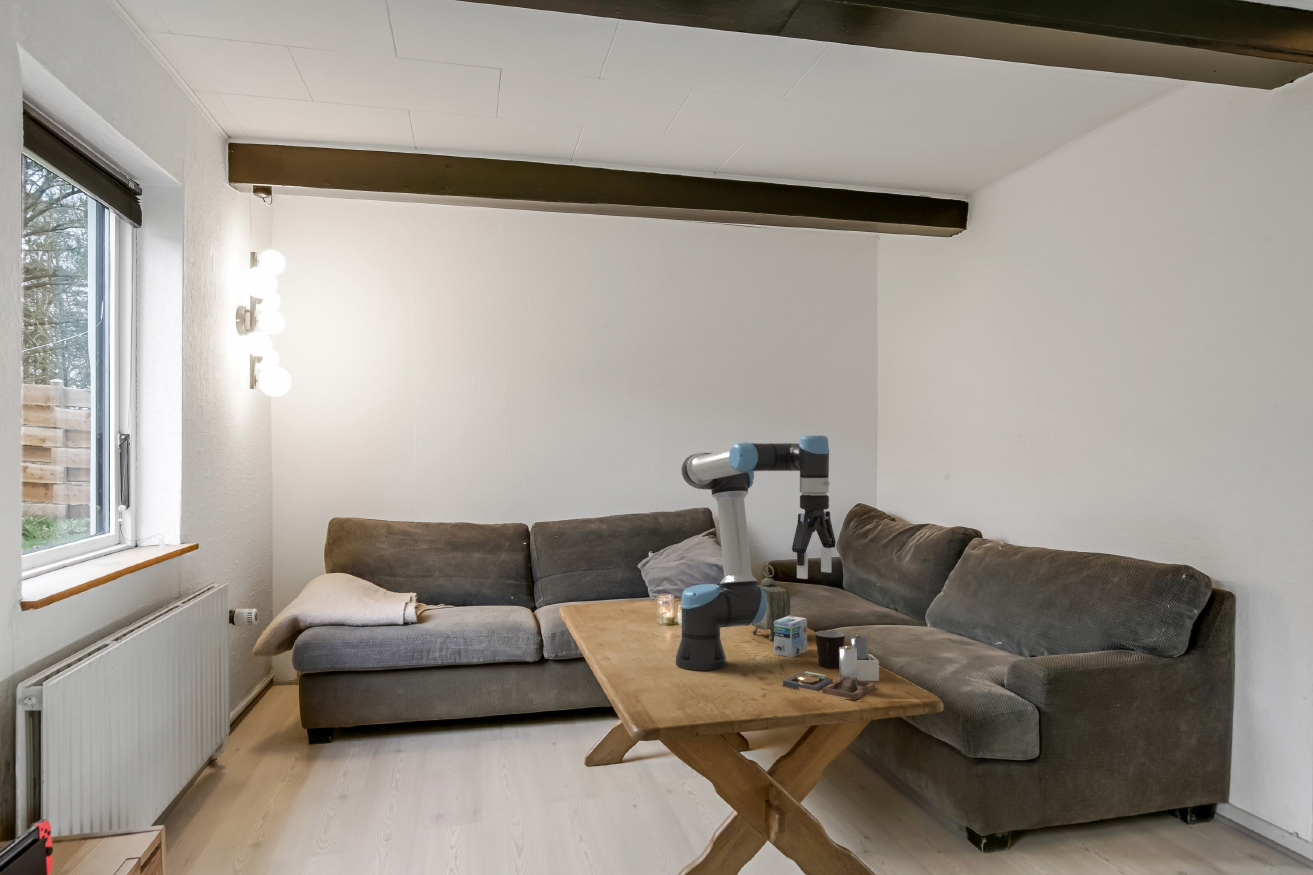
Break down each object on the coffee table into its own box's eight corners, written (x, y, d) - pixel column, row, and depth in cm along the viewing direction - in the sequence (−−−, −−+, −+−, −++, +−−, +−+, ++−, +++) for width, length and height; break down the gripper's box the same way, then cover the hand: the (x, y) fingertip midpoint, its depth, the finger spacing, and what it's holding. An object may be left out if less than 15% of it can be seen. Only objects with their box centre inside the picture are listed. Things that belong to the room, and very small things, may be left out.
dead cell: (851, 677, 224) (847, 636, 224) (855, 673, 228) (852, 632, 228) (867, 678, 221) (863, 637, 222) (871, 674, 225) (868, 633, 226)
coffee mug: (825, 662, 242) (825, 629, 243) (850, 667, 236) (850, 633, 236) (803, 669, 234) (803, 635, 234) (828, 675, 228) (828, 640, 228)
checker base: (816, 692, 211) (816, 684, 211) (782, 685, 218) (782, 677, 218) (832, 684, 219) (832, 676, 219) (800, 677, 225) (800, 669, 225)
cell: (842, 692, 209) (841, 648, 209) (837, 687, 214) (836, 644, 214) (859, 692, 209) (858, 648, 210) (854, 687, 214) (853, 643, 214)
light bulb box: (792, 657, 248) (792, 623, 248) (773, 654, 252) (773, 620, 252) (807, 651, 256) (807, 617, 256) (789, 648, 260) (789, 615, 260)
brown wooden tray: (854, 701, 204) (854, 694, 204) (822, 694, 209) (822, 688, 209) (875, 689, 214) (875, 683, 214) (843, 683, 220) (843, 677, 220)
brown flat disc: (812, 686, 214) (812, 680, 214) (792, 682, 218) (792, 677, 218) (822, 681, 219) (822, 675, 219) (803, 677, 223) (803, 672, 223)
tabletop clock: (747, 633, 280) (747, 562, 281) (768, 631, 284) (768, 561, 285) (769, 642, 267) (769, 568, 268) (792, 640, 271) (792, 566, 272)
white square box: (851, 682, 220) (851, 661, 221) (844, 675, 228) (844, 654, 228) (879, 682, 221) (878, 660, 221) (870, 674, 228) (870, 653, 228)
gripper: (804, 496, 197) (805, 582, 196) (847, 492, 216) (848, 570, 216) (778, 495, 201) (778, 579, 201) (822, 491, 221) (822, 568, 221)
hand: (814, 575), depth 209 cm, fingers open, 13 cm apart
